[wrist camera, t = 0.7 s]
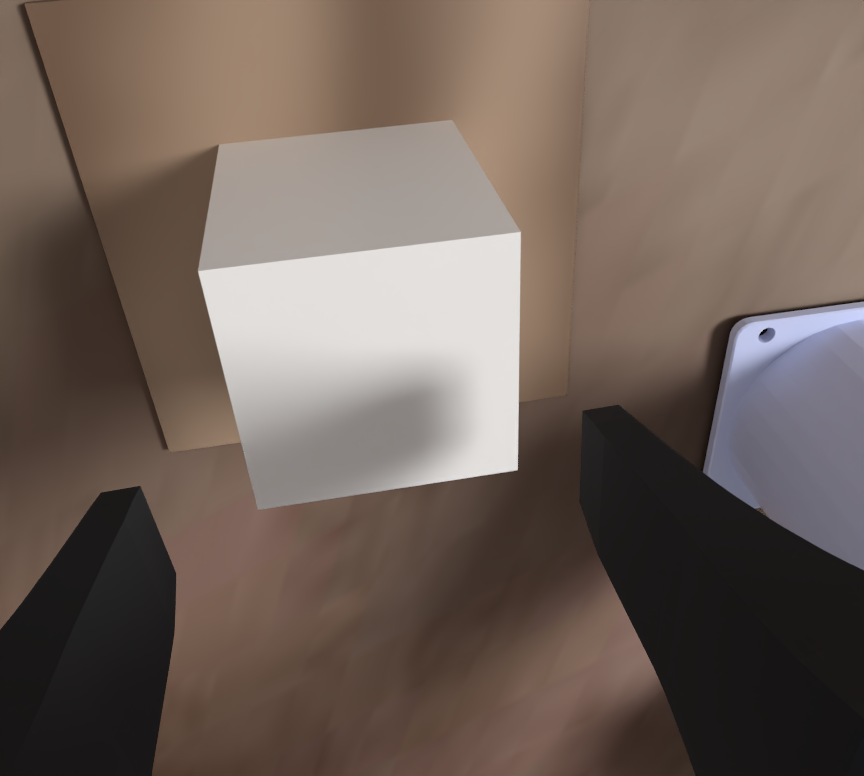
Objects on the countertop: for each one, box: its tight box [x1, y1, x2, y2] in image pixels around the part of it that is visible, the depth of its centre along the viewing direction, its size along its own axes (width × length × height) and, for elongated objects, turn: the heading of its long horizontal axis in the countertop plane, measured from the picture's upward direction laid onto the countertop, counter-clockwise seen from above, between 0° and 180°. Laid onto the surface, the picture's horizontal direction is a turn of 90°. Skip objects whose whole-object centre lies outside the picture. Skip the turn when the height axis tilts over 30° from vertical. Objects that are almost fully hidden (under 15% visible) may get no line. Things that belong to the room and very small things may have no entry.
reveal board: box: [24, 0, 590, 452], centre depth 20 cm, size 12×12×1 cm
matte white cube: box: [198, 120, 521, 510], centre depth 18 cm, size 6×6×6 cm
